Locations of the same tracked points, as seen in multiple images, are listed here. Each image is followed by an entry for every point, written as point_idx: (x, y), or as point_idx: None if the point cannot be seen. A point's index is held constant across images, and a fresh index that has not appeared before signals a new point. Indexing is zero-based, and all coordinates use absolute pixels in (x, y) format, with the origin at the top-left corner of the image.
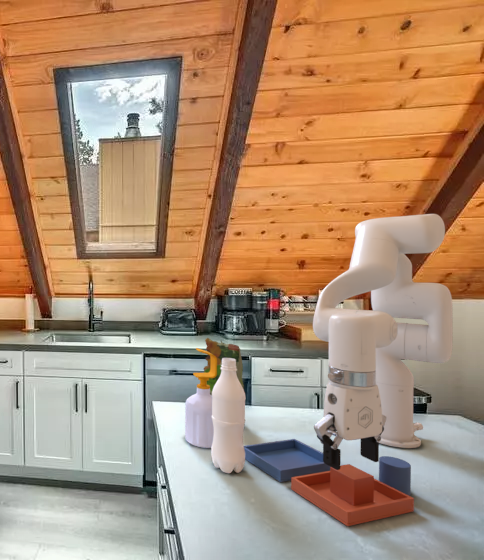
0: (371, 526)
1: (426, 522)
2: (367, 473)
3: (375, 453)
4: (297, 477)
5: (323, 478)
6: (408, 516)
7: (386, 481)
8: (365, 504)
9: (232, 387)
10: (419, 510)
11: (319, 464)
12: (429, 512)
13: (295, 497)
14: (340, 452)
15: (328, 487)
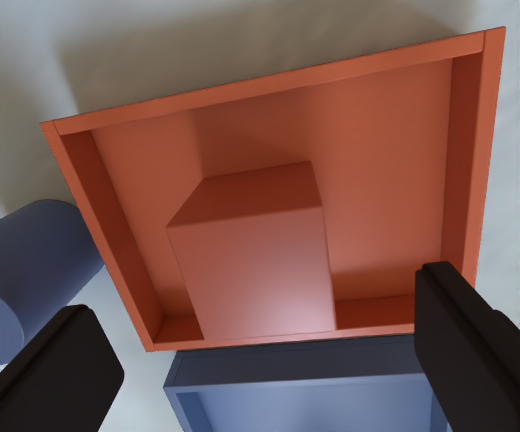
0: (348, 27)
1: (79, 36)
2: (180, 255)
3: (46, 353)
4: None
5: None
6: (124, 85)
7: (73, 256)
8: (252, 164)
9: None
10: None
11: (257, 380)
12: (20, 103)
13: (479, 249)
14: (498, 383)
15: None
